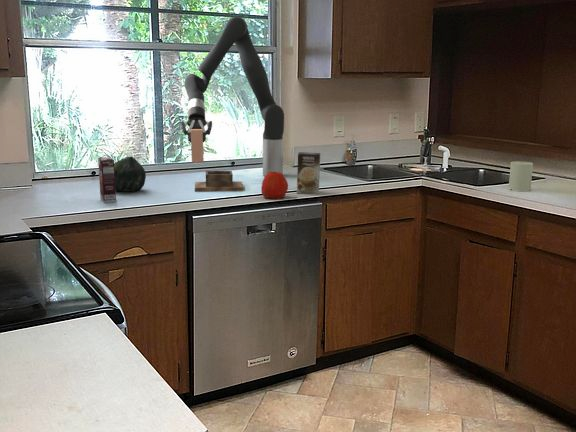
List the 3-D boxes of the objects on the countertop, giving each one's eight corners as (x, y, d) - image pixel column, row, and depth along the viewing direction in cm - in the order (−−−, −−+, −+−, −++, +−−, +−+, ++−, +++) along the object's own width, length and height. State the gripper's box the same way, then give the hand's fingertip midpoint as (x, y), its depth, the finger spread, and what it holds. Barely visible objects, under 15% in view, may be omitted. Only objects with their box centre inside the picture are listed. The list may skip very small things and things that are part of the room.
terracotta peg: (203, 160, 282) (202, 128, 278) (203, 162, 277) (202, 130, 274) (192, 161, 281) (190, 129, 278) (191, 162, 276) (190, 130, 273)
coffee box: (296, 193, 259) (296, 153, 255) (297, 190, 265) (298, 152, 261) (318, 194, 258) (319, 154, 254) (319, 191, 264) (320, 152, 260)
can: (530, 188, 277) (533, 161, 274) (531, 192, 268) (533, 163, 265) (508, 187, 280) (510, 159, 277) (508, 190, 271) (510, 162, 268)
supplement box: (99, 198, 243) (97, 157, 239) (112, 198, 245) (110, 156, 241) (103, 203, 235) (101, 160, 231) (116, 202, 237) (114, 159, 233)
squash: (104, 174, 264) (108, 150, 253) (141, 174, 270) (146, 150, 259) (108, 202, 257) (112, 178, 246) (146, 201, 263) (151, 177, 252)
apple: (291, 196, 252) (291, 170, 250) (280, 201, 243) (280, 173, 241) (268, 194, 256) (268, 168, 254) (256, 198, 247) (256, 171, 245)
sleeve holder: (241, 184, 277) (241, 169, 275) (243, 191, 262) (243, 175, 261) (195, 185, 274) (195, 170, 273) (194, 191, 260) (194, 175, 258)
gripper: (179, 105, 280) (179, 136, 271) (212, 105, 282) (213, 135, 273) (180, 117, 286) (180, 147, 277) (212, 116, 288) (213, 146, 279)
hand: (197, 141), depth 275 cm, fingers closed on terracotta peg, 5 cm apart
